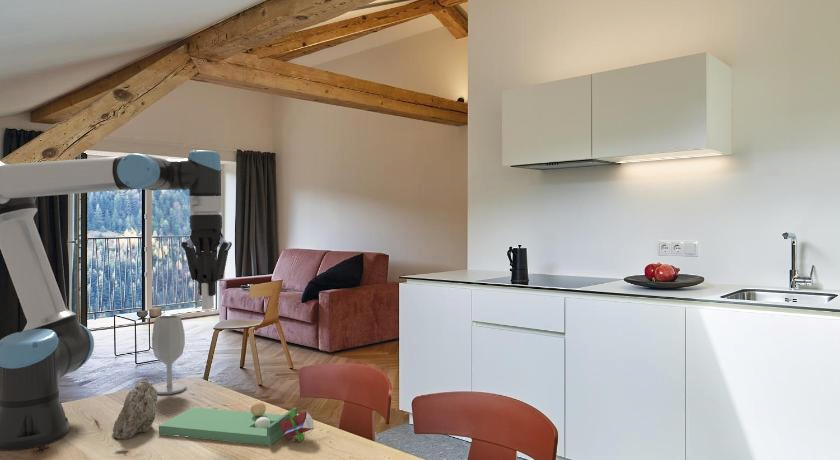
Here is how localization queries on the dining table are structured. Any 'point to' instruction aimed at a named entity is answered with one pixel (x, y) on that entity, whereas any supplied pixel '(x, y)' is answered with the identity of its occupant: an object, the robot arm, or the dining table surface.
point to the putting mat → (225, 426)
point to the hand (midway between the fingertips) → (207, 308)
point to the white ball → (262, 422)
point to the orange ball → (258, 408)
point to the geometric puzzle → (297, 425)
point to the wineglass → (168, 348)
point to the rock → (136, 411)
